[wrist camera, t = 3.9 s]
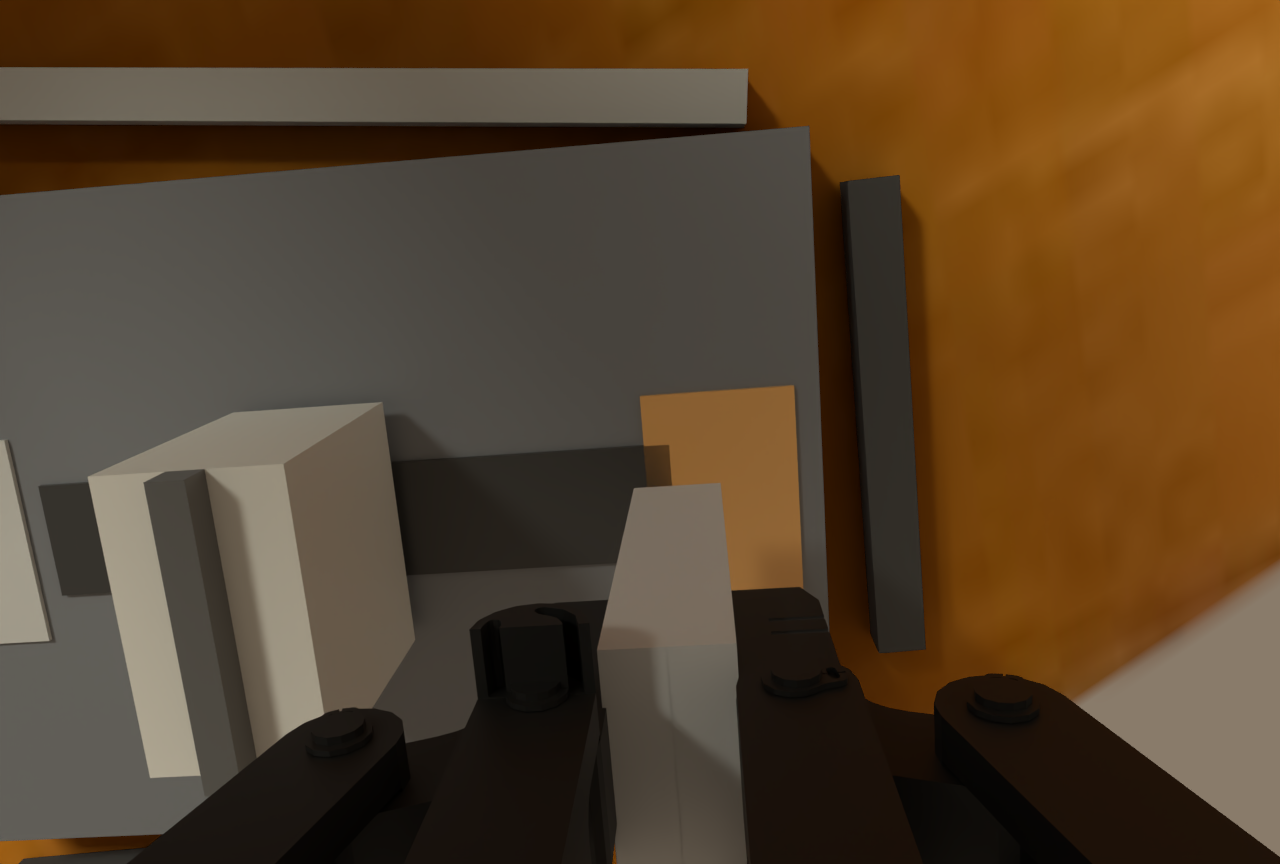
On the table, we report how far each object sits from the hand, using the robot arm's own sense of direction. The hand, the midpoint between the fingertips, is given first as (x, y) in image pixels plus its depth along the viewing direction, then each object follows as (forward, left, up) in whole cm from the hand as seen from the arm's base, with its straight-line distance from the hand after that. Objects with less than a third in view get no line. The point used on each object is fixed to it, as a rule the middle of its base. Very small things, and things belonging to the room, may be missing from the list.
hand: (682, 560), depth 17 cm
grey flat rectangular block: (-7, 0, -5) cm, 9 cm away
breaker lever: (-7, 0, -2) cm, 8 cm away
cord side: (+4, +1, -5) cm, 7 cm away
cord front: (-7, +9, -5) cm, 12 cm away
